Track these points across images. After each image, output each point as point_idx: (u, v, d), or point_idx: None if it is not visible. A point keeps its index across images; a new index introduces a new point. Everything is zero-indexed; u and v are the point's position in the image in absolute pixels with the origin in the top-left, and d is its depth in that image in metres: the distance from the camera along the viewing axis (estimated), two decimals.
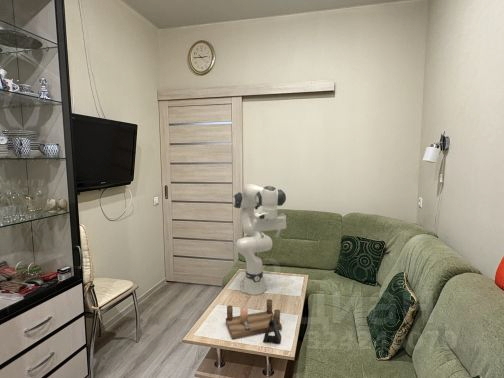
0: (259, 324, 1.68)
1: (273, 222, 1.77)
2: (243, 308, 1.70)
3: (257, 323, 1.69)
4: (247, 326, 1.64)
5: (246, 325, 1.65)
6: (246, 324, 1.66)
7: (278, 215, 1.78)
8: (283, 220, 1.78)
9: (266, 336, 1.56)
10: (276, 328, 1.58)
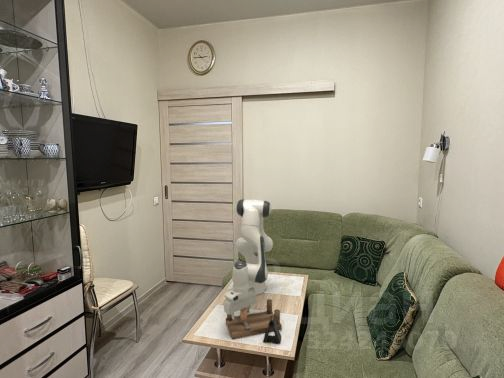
0: (259, 324, 1.68)
1: (245, 299, 1.67)
2: (243, 308, 1.70)
3: (257, 323, 1.69)
4: (247, 326, 1.64)
5: (246, 325, 1.65)
6: (246, 324, 1.66)
7: (248, 290, 1.69)
8: (253, 295, 1.70)
9: (266, 336, 1.56)
10: (276, 328, 1.58)
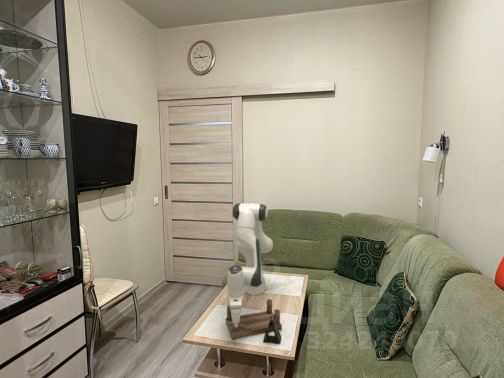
0: (259, 324, 1.68)
1: None
2: None
3: (257, 323, 1.69)
4: (247, 326, 1.64)
5: (245, 326, 1.64)
6: (243, 325, 1.65)
7: None
8: None
9: (266, 336, 1.56)
10: (276, 328, 1.58)
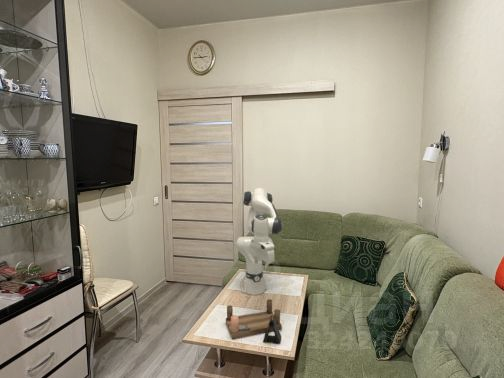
0: (259, 324, 1.68)
1: None
2: (233, 317, 1.61)
3: (257, 323, 1.69)
4: (247, 326, 1.63)
5: (245, 327, 1.63)
6: (243, 327, 1.63)
7: None
8: None
9: (266, 336, 1.56)
10: (276, 328, 1.58)
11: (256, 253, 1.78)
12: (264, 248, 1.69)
